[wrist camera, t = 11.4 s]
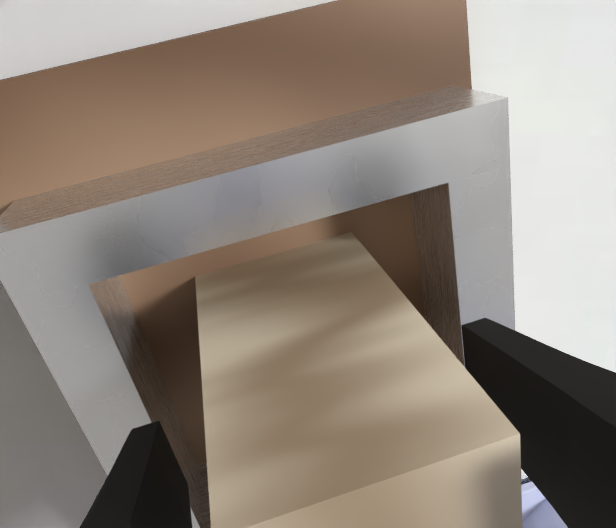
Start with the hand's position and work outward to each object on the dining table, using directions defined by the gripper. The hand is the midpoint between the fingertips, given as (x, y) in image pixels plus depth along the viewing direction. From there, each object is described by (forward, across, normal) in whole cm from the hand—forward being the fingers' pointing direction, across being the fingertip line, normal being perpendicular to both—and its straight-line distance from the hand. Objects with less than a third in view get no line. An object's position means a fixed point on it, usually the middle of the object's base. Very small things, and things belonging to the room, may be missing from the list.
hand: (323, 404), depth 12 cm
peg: (+4, 0, 0) cm, 4 cm away
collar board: (+4, 0, 0) cm, 4 cm away
